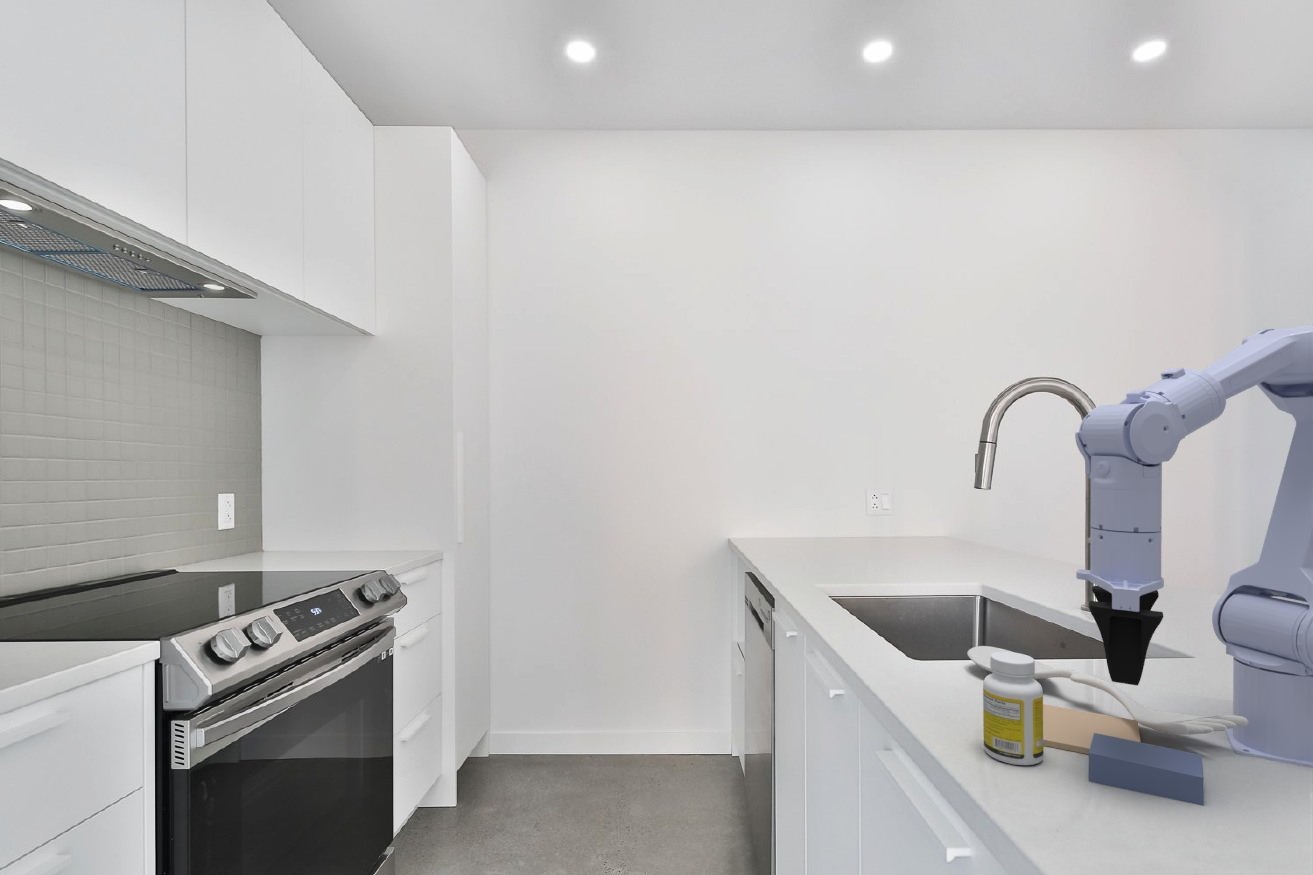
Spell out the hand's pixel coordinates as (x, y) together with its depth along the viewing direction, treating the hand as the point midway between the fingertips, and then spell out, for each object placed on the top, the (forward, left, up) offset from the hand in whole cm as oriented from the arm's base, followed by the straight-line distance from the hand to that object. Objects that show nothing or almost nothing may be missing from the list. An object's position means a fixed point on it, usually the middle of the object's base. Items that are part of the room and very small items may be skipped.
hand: (1124, 670), depth 69 cm
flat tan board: (+5, -7, -9) cm, 13 cm away
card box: (-2, +2, -10) cm, 10 cm away
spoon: (+4, -17, -9) cm, 19 cm away
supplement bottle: (+9, +2, -10) cm, 14 cm away
